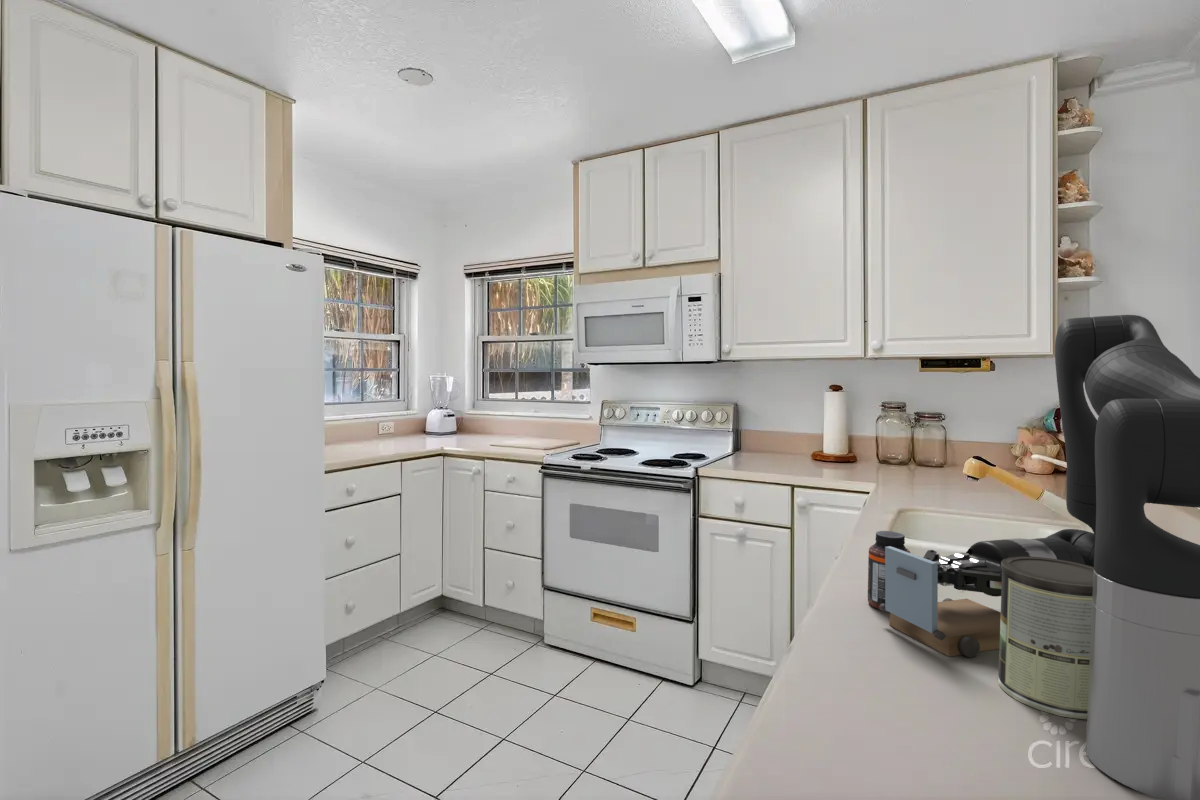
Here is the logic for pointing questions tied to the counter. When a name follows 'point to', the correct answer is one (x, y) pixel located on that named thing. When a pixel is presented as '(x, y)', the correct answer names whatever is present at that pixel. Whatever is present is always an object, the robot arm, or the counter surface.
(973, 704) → the counter surface
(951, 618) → the flatbed
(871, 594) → the supplement bottle
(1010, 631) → the coffee can
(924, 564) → the panel
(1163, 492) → the robot arm
